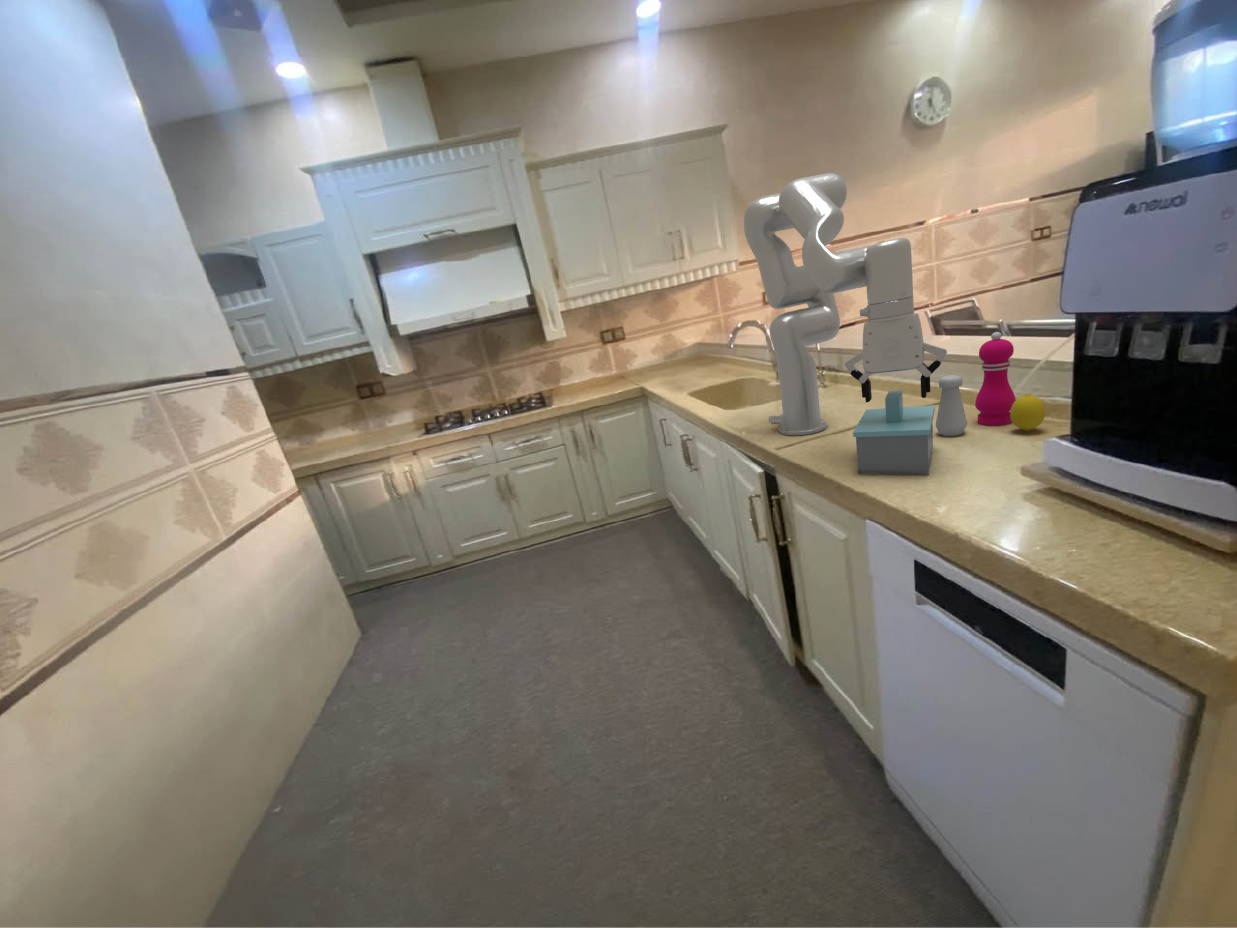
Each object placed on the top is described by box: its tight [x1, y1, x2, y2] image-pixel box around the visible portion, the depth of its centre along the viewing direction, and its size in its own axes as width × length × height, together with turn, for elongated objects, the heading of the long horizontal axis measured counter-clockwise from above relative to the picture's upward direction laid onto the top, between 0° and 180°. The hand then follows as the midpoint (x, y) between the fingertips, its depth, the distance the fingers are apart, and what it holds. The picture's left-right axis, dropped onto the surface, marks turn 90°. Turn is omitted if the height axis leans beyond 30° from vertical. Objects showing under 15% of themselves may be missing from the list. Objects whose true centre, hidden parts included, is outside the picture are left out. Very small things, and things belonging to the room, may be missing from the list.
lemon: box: [1009, 393, 1046, 432], centre depth 100 cm, size 6×6×8 cm
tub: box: [855, 422, 934, 476], centre depth 100 cm, size 12×16×8 cm
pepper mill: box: [974, 331, 1017, 426], centre depth 108 cm, size 7×7×20 cm
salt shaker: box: [935, 374, 968, 437], centre depth 107 cm, size 6×6×13 cm
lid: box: [852, 389, 936, 438], centre depth 98 cm, size 13×17×7 cm
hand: (895, 398), depth 97 cm, fingers open, 9 cm apart
